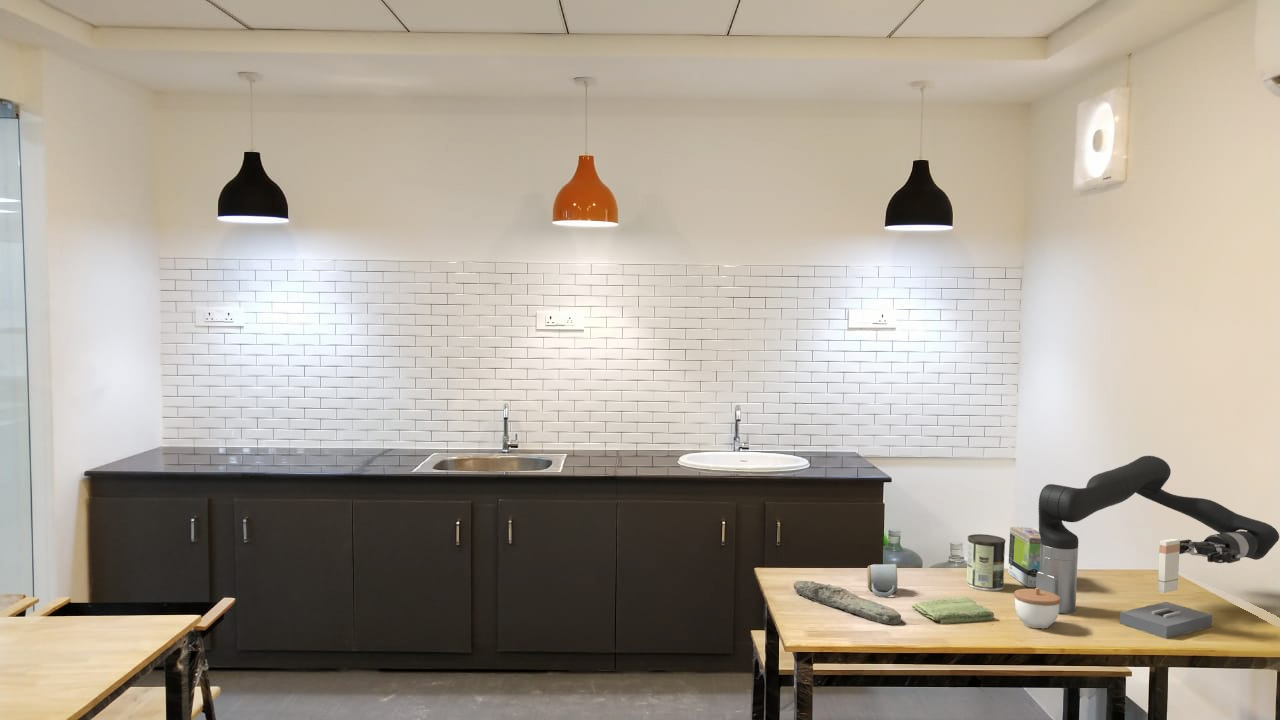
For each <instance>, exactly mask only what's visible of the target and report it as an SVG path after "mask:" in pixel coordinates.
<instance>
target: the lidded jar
mask: <svg viewBox="0 0 1280 720" xmlns="http://www.w3.org/2000/svg"><path fill="white" fill-rule="evenodd" d="M1013 595H1014V608H1015V610H1014V611H1015V613H1016V615H1017V617H1018V619H1020V621H1021V622H1022V624H1023V623H1024V624H1025V625H1024V624H1023V625H1024V626H1026V625H1027V626H1026V627H1028V626H1030V627H1029V628H1031V627H1033V628H1032V629H1037V628H1042V629H1041V630H1043V629H1044V630H1045V628H1046V629H1048V627H1049V628H1050V626H1052V625H1053V624H1054V623H1055V622H1056V621H1057V618H1058V616H1059V614H1060V613H1059V605H1060V597H1059V596H1058V595H1056V594H1054V593H1051V592H1048V591H1044V590H1040V589H1039V588H1035V587H1034V588H1021V589H1017V590H1015V591H1014V593H1013Z"/></svg>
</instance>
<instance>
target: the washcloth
mask: <svg viewBox="0 0 1280 720" xmlns="http://www.w3.org/2000/svg"><path fill="white" fill-rule="evenodd" d="M911 608H912V609H914V611H917V612H919V613H921V615H923V616H925V617H927V618H929V619H932V620H933V621H935V622H936V623H939V625H949V624H960V623H972V622H984V621H991V620H992V619H994V617H995V612H994V611H992V610H990V608H989V609H988V608H987V607H984V606H983V605H980V604H978V603H977V602H976V601H974V600H973V599H971V598H969V597H967V596H962V597H961V596H960V597H957V598H945V599H934V600H923V601H918V602H917V603H914V604H913V605H912V606H911Z"/></svg>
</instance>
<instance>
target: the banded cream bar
mask: <svg viewBox="0 0 1280 720" xmlns="http://www.w3.org/2000/svg"><path fill="white" fill-rule="evenodd" d="M1180 541H1181V539H1178V538H1167V539H1161V540H1159V548H1158V549H1159V553H1158V554H1159V557H1158V575H1157V577H1158V579H1157V592H1159V593H1162V594H1164V593H1169V592H1175V591H1178V589H1179V587H1178V586H1179V585H1178V584H1179V569H1180V568H1179V567H1180V566H1179V565H1180V554H1179V551H1180Z"/></svg>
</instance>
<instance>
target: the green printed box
mask: <svg viewBox="0 0 1280 720" xmlns="http://www.w3.org/2000/svg"><path fill="white" fill-rule="evenodd" d="M1008 547H1009V548H1008V564H1007V566H1008V567H1007V568H1008V569H1007V574H1009V575H1010V576H1011V577H1013V578H1014V579H1016V580H1017V581H1019V582H1020V583H1022V584H1023V585H1024V586H1026V587H1027V588H1035V587H1036V577H1037V572H1039V571H1040V548H1041V537H1040V534H1039V527H1023V526H1021V527H1019V526H1017V527H1016V526H1012V527H1011V526H1010V529H1009V545H1008Z"/></svg>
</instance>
